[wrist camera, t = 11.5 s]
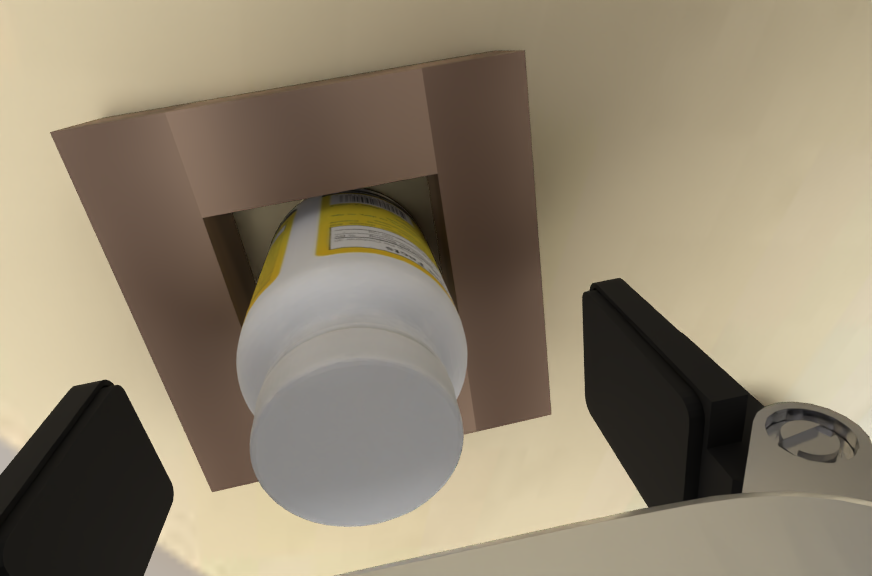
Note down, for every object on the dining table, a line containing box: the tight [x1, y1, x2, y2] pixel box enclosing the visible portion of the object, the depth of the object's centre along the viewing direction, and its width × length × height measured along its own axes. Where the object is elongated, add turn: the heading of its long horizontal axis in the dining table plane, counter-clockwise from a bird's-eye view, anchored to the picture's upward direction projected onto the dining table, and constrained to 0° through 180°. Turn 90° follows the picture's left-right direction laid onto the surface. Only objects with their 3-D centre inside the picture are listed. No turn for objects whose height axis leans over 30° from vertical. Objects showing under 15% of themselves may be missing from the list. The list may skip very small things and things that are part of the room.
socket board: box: [50, 51, 551, 492], centre depth 17 cm, size 12×12×3 cm
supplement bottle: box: [236, 188, 467, 527], centre depth 14 cm, size 5×5×10 cm
